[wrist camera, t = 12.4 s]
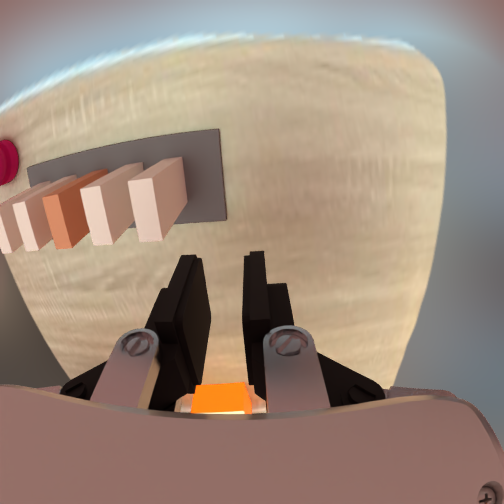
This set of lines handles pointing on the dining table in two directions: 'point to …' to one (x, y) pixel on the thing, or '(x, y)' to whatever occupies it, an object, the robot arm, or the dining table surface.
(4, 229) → the domino
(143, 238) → the domino
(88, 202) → the domino
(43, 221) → the domino
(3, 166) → the pepper mill
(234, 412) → the orange juice
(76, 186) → the domino
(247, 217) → the dining table surface
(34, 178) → the mat
